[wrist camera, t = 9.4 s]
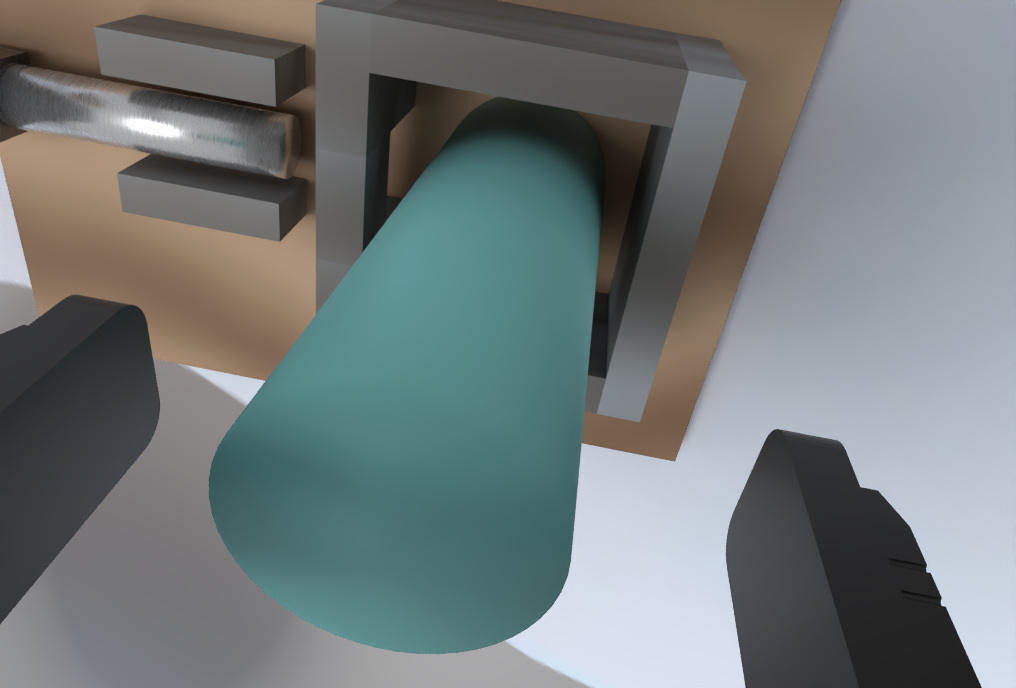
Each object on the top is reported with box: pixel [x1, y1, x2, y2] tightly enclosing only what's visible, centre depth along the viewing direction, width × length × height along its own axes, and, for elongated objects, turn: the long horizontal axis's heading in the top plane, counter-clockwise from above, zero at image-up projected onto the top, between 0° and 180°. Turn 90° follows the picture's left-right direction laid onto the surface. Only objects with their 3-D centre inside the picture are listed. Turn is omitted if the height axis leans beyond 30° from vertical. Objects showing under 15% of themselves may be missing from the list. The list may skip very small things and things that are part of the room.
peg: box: [209, 96, 605, 654], centre depth 13 cm, size 4×4×12 cm
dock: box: [0, 0, 841, 461], centre depth 17 cm, size 16×20×5 cm
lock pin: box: [0, 47, 301, 179], centre depth 17 cm, size 2×9×3 cm, turn 81°
